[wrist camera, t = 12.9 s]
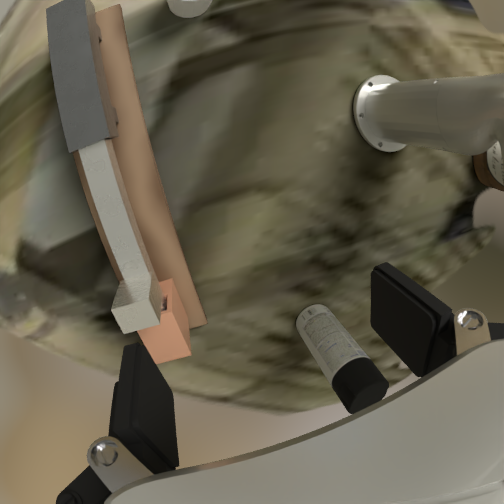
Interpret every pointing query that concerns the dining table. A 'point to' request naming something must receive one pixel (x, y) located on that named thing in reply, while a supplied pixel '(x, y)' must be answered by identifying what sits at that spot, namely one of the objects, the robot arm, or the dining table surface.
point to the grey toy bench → (79, 74)
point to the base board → (139, 170)
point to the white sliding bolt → (123, 241)
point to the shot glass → (188, 7)
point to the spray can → (341, 359)
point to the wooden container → (490, 167)
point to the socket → (168, 329)
